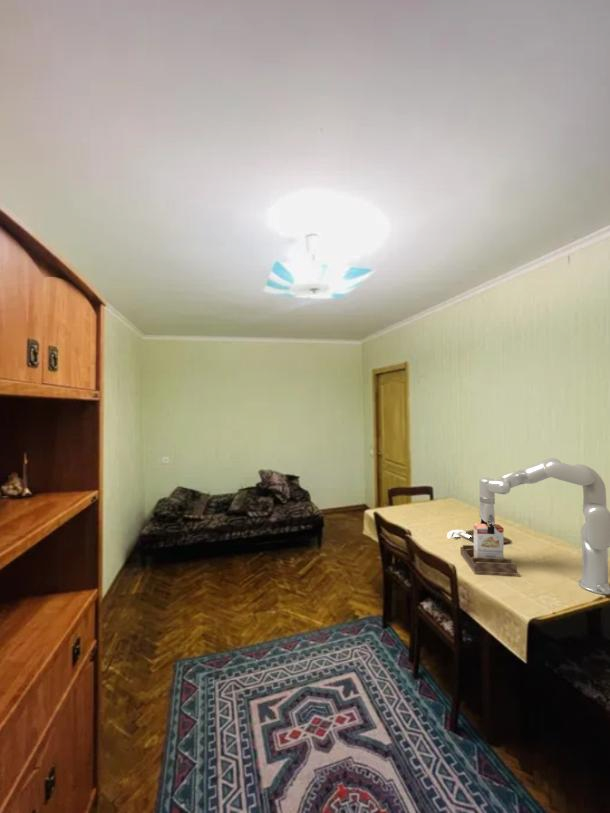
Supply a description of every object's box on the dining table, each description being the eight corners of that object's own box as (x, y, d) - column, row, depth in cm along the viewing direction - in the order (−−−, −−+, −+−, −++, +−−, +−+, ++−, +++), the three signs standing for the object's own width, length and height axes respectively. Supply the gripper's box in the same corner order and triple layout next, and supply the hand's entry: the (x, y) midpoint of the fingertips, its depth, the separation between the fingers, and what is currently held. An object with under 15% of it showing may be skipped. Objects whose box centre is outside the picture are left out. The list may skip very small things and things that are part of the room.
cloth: (463, 529, 242) (463, 526, 242) (483, 542, 220) (483, 538, 220) (437, 531, 239) (436, 528, 239) (454, 544, 217) (454, 541, 217)
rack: (499, 555, 199) (499, 545, 199) (519, 576, 175) (519, 565, 175) (460, 554, 202) (460, 544, 202) (474, 574, 178) (474, 563, 178)
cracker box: (477, 564, 186) (477, 526, 186) (473, 559, 192) (472, 523, 192) (504, 565, 184) (503, 527, 184) (499, 560, 190) (498, 523, 190)
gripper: (474, 495, 197) (474, 524, 197) (486, 504, 180) (486, 536, 180) (488, 496, 196) (488, 525, 196) (501, 505, 179) (501, 536, 179)
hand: (487, 530), depth 188 cm, fingers open, 9 cm apart
